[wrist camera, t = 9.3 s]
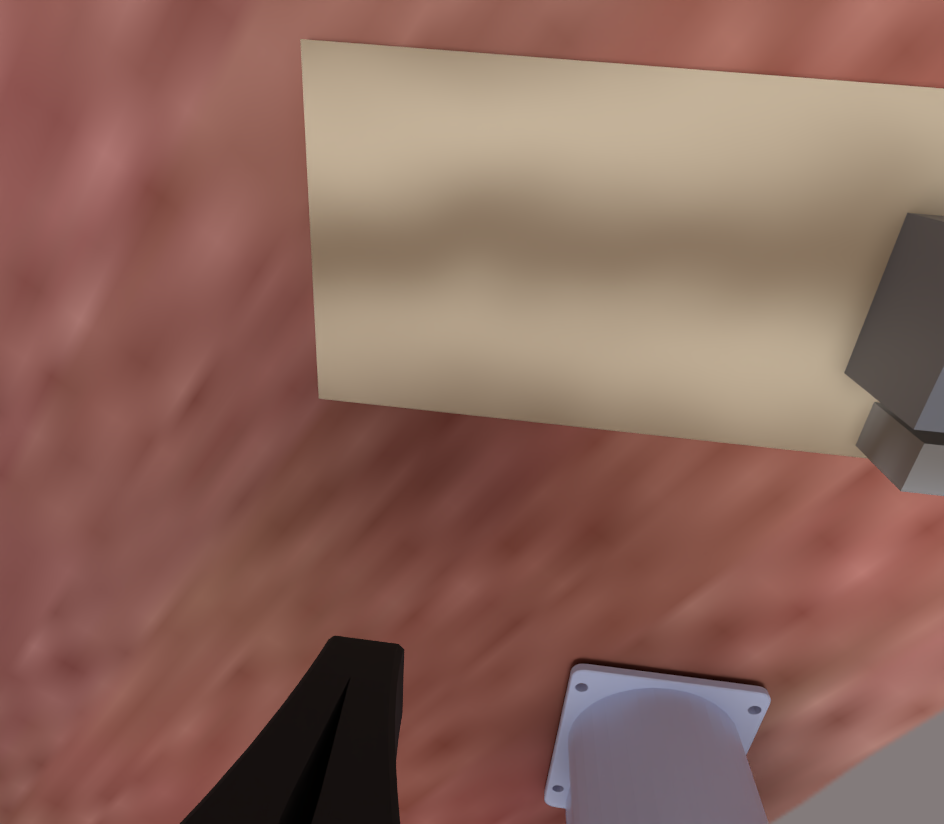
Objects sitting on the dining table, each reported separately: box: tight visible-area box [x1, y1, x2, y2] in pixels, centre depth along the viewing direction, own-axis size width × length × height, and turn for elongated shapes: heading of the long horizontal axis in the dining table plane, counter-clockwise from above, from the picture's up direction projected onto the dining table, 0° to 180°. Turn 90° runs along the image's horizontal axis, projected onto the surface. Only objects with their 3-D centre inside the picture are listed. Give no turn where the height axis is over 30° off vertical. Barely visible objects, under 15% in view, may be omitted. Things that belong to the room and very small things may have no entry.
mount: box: [300, 39, 944, 496], centre depth 15 cm, size 10×33×3 cm, turn 86°
